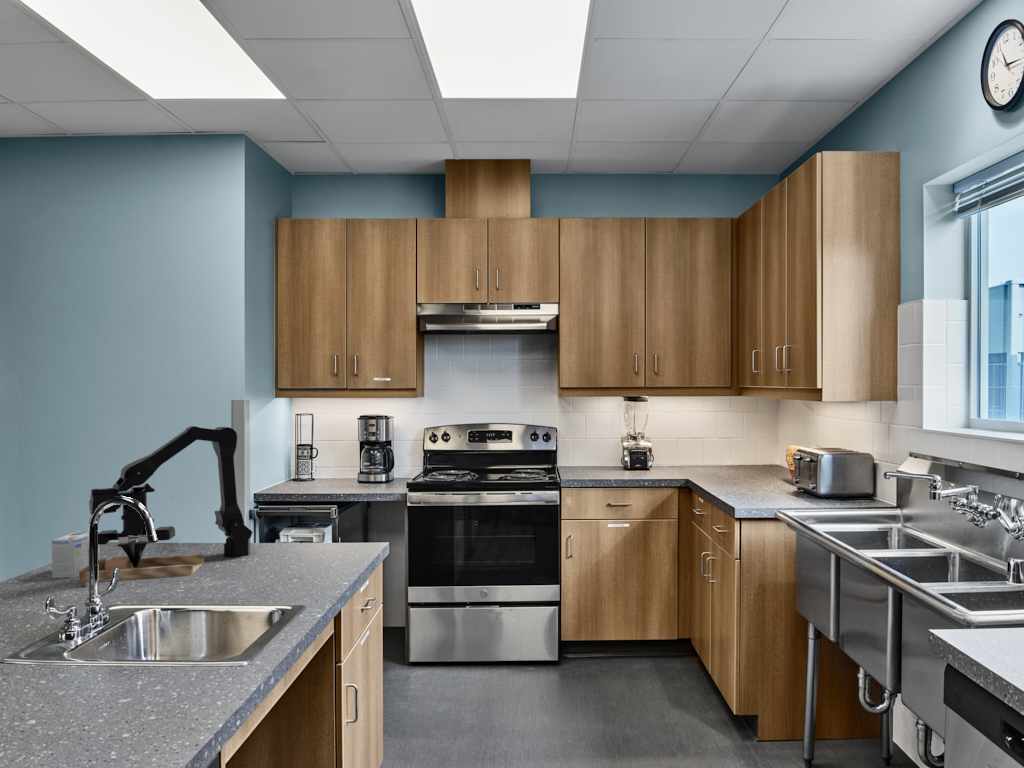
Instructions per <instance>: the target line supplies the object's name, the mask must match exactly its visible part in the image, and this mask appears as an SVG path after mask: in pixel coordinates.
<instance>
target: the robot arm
mask: <svg viewBox="0 0 1024 768" xmlns="http://www.w3.org/2000/svg"><path fill="white" fill-rule="evenodd" d="M196 441H203V442H211V445H212V448H213V450H214V452H215V454H216V458H217V465H218V466H217V468H218V476H219V477H218V479H219V489H220V490H219V492H220V493H219V494H220V507H219V510H214V515H215V523H214V524H215V525H216V526H217V528H218V529H219V530H220V531H221V532H223V533H224V536H225V537H226V539H225V543H224V544H223V557H225V558H241V557H247V556H249V555H251V538H252V535H253V530H251V529H250V528H249V527H248V526H246V525H245V522H244V517H243V514H242V511H241V509H240V506H239V505H238V498H237V497H238V496H237V486H236V485H237V484H236V472H235V461H234V460H235V458H234V457H235V453H236V450H237V444H238V443H237V442H238V433H237V431H236V430H235V429H234V428H232V427H228V426H218V427H216V428H213V429H212V428H205V427H199V426H194V425H190V426H188V427H186V428H185V429H184V430H183V431H182V432H180V433H179V434H178V435H176V436H174V437H173V438H172V439H170V440H169V441H168V442H166V443H164V444H163V445H162V446H161V447H158V448H157V449H156V450H155V451H152V452H151V453H150V454H148V455H146V456H143V457H141V458H139V459H136V460H135V461H132V462H131V463H128V464H126V465H124V466H123V467H122V469H121V470H120V477H119V478H118V479H117V480H116V482H115V483H114V484H113V485H112V487H108V488H107V487H106V488H92V489H91V490H90V498H89V501H88V503H89V504H88V506H89V514H90V516H93V515H92V514H93V513H94V511H95V509H96V508H97V506H98V505H99V504H100V503H102V502H103V501H105V500H107V499H109V498H112V497H115V496H121V497H122V496H126V497H131V498H133V499H136V500H138V501H139V502H141V503H142V504H143V505H144V506H145V507H146V508H147V509H148V506H147V505H148V503H147V500H148V499H147V496H148V493H154V492H156V489H154V487H151V485H150V484H149V483H147V481H148V480H149V479H150V478H151V477H152V476H153V475H154V473H156V471H157V470H158V469H159V468H160V467H161V466H162V465H163V464H164V463H166V462H168V461H169V460H170V459H171V458H173V457H175V456H176V455H177V454H179V453H181V452H182V451H183V450H185V449H186V448H187V447H188V446H190V445H191V444H193V443H194V442H196ZM142 485H143V486H142ZM121 507H122V515H121V519H120V520H122V530H121V532H118V530H117V529H108V530H105V529H104V530H101V531H99V533H98V545H99V546H100V545H107V544H108V543H109V542H110V541H118V544H117V547H120V548H122V550H123V552H125V554H126V556H128V557H129V559H130V561H131V563H132V565H133V567H138V565H139V562H140V559H141V558H142V556H143V553H144V550H145V548H146V547H147V545H148V544H149V543H148V541H147V535H146V529H145V524H144V520H143V519H142V517H141V516H140V514H139V513H138V512H137V511H136V510H135V509H133V508H132V507H130V506H128V505H123V504H122V503H121V504H120V505H113V506H111V507H109V508H108V509H106V510H105V511H104V513H103V514H105V515H106V514H113V513H116V512H117V510H119V509H120V508H121ZM103 514H102V515H103ZM151 518H152V519H153V522H154V523H155V519H154V518H153V517H151ZM154 530H155V531H156V534H157V538H158V541H159V542H160V541H169V540H171V539H172V538H174V537H175V536H176V529H175V527H174V526H172V525H171V526H159V527H157V528H156V529H154ZM158 541H157V542H158Z"/></svg>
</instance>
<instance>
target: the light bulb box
mask: <svg viewBox="0 0 1024 768" xmlns="http://www.w3.org/2000/svg"><path fill="white" fill-rule="evenodd" d="M89 531H90V530H86V531H85V530H79V531H75V532H73V533H70V534H67V535H63V536H60V537H57V538H53V539H51V569H52V570H51V574H52V575H51V577H66V578H65V579H75V578H77V577H79V571H81V570H83V569H84V568H86V567H88V549H89ZM97 531H98V533H99V532H100V530H97ZM100 554H101V553H100V545H98V556H99V559H101V557H100ZM67 577H68V578H67ZM72 577H73V578H72ZM74 577H75V578H74Z"/></svg>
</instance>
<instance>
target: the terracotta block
mask: <svg viewBox="0 0 1024 768" xmlns="http://www.w3.org/2000/svg"><path fill="white" fill-rule="evenodd" d="M108 560H109V561H107V562H106V563H105V570H114V569H116V568H119V569H130V568H134V567H133V565H132V563H131V561H130V559H129V557H128V556H127V555H126V556H115V557H111V558H110V559H108Z"/></svg>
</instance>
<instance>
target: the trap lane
mask: <svg viewBox="0 0 1024 768" xmlns="http://www.w3.org/2000/svg"><path fill="white" fill-rule="evenodd" d="M109 560H110V559H107V558H100V559H99V560H98V564H99V582H98V583H101V582H100V581H103V582H106V581H105V580H109V579H110V580H111V579H112V576H113V570H105V563H106V562H107V561H109ZM204 563H205V553H194V554H181V555H180V554H178V555H166V556H151V557H150V556H149V557H148V556H147V557H141V559H140V562H139V565H138V567H134V568H130V569H120V572H121V575H120V577H119V580H118V581H128V580H140V579H141V580H143V579H144V580H145V579H155V578H157V579H158V578H167V577H168V578H169V577H183V576H192V575H193V574H194V573H195V572H196V571H197V570H198V569H199V568H200V567H201V566H203V564H204ZM78 579H79V582H78V583H79V588H82V587H81V586H85V587H89V586H88V583H89V566H88V567H86V568H84V569H83V570H81V571H79V576H78ZM86 585H87V586H86Z"/></svg>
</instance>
